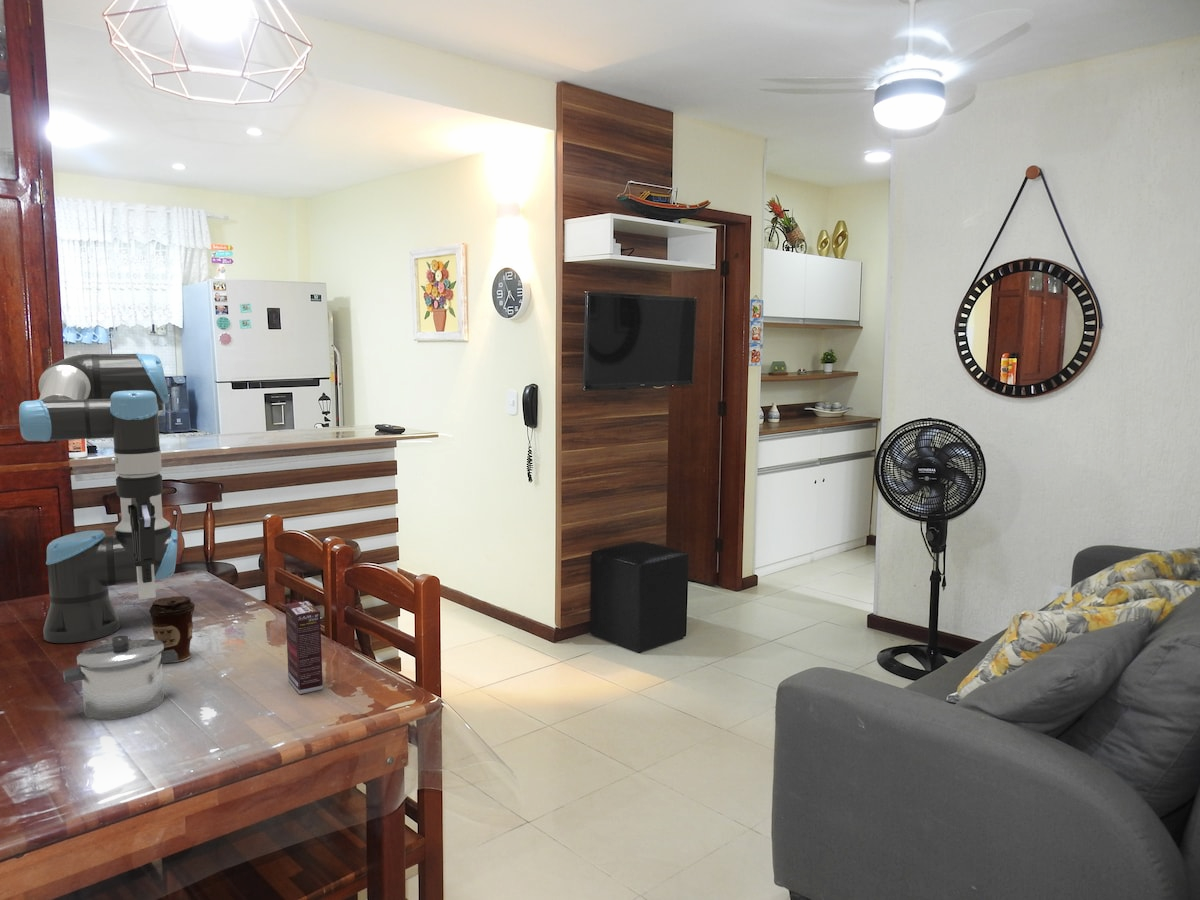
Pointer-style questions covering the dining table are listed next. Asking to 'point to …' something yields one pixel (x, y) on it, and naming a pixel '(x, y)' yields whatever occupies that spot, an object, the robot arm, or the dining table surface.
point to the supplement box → (304, 647)
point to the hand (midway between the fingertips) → (147, 597)
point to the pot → (122, 687)
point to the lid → (120, 652)
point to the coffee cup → (173, 624)
